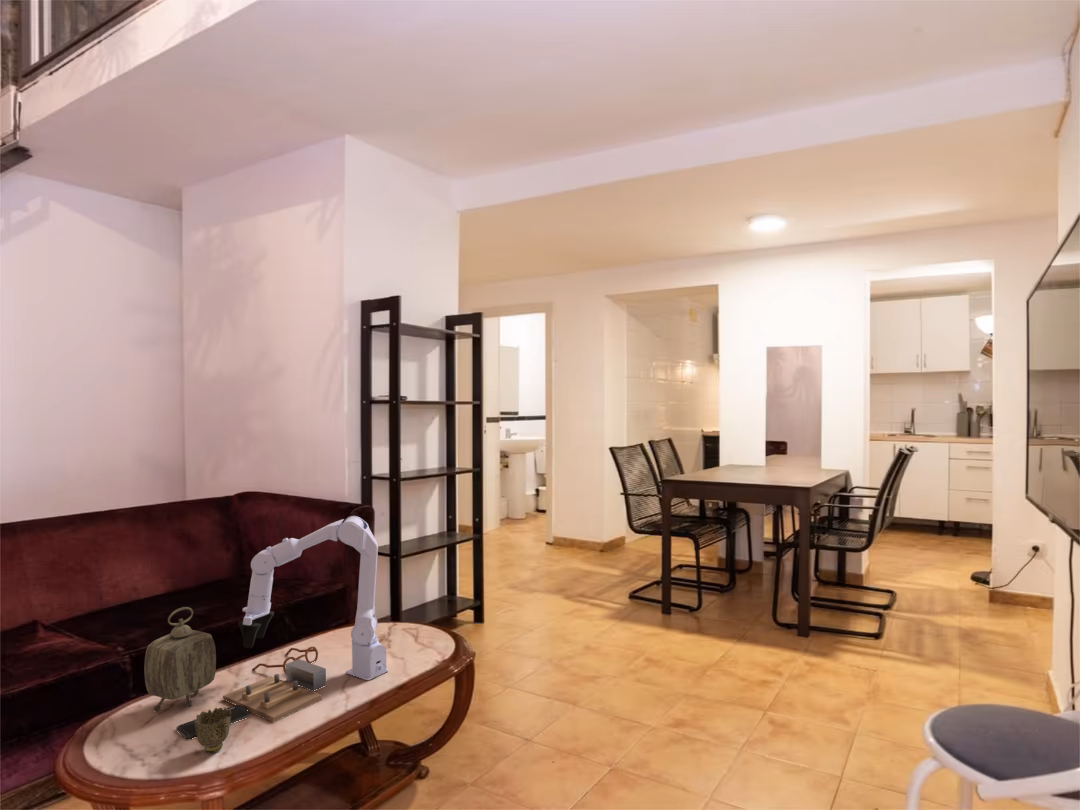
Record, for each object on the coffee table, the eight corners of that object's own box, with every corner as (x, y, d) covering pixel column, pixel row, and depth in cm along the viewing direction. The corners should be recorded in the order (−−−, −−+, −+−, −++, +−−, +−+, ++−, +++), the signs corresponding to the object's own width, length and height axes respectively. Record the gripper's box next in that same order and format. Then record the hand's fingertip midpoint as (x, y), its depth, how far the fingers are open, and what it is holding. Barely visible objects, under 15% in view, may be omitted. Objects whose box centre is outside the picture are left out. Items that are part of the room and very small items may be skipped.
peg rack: (321, 699, 173) (321, 683, 172) (273, 722, 161) (273, 705, 161) (271, 680, 185) (270, 665, 185) (223, 700, 173) (222, 684, 173)
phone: (174, 726, 158) (238, 704, 169) (175, 731, 158) (238, 708, 169) (187, 737, 153) (252, 713, 164) (188, 742, 153) (252, 718, 164)
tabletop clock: (197, 690, 179) (195, 598, 179) (220, 696, 176) (218, 602, 175) (145, 713, 166) (142, 614, 166) (168, 721, 163) (166, 619, 162)
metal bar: (326, 686, 181) (325, 668, 181) (313, 692, 178) (313, 673, 178) (298, 676, 188) (298, 659, 188) (286, 682, 184) (285, 664, 184)
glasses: (285, 678, 187) (285, 661, 187) (251, 671, 193) (251, 654, 193) (319, 661, 199) (318, 644, 199) (286, 654, 205) (286, 638, 204)
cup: (203, 742, 152) (202, 707, 152) (236, 740, 153) (236, 706, 153) (189, 760, 145) (188, 723, 144) (224, 758, 145) (223, 721, 145)
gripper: (256, 585, 193) (249, 631, 193) (234, 599, 178) (227, 650, 178) (280, 588, 193) (274, 634, 193) (260, 603, 178) (254, 653, 178)
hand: (253, 642), depth 186 cm, fingers open, 7 cm apart
